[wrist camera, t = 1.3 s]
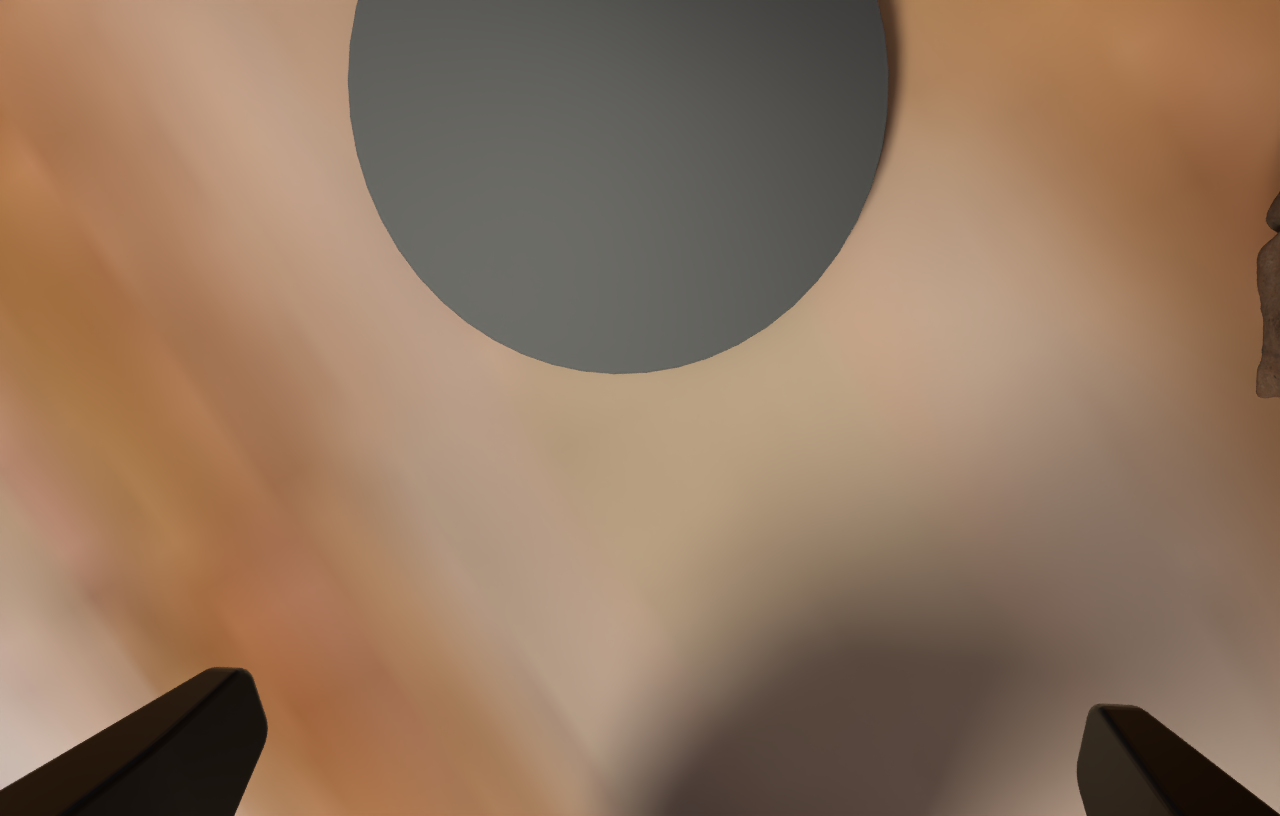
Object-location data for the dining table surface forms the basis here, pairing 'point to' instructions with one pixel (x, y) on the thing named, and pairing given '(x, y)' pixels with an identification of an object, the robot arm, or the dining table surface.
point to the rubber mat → (618, 162)
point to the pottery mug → (1270, 308)
